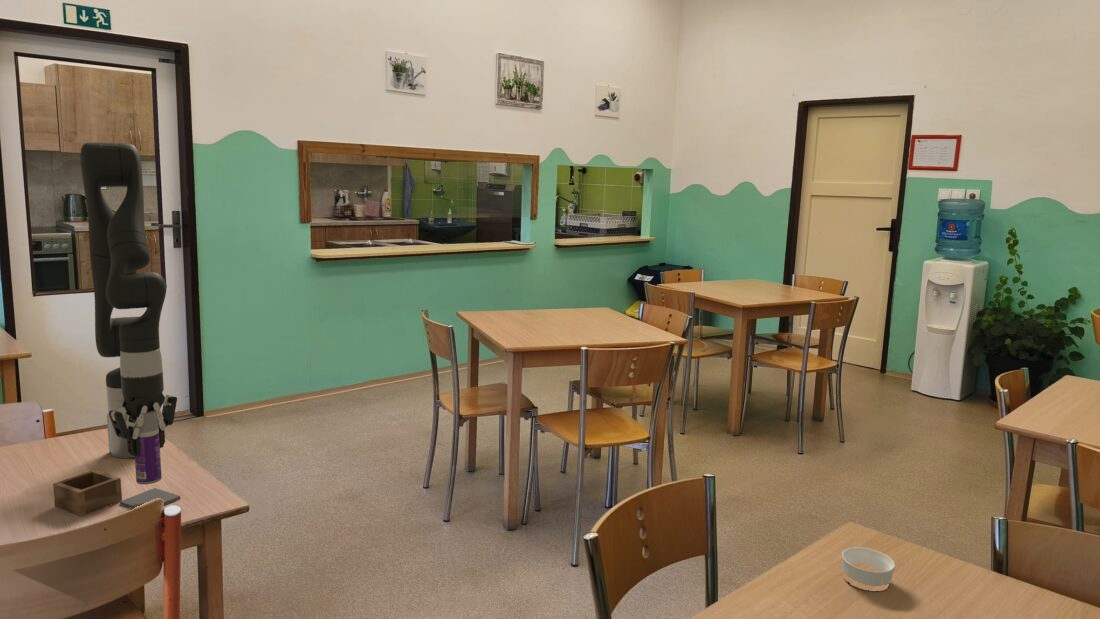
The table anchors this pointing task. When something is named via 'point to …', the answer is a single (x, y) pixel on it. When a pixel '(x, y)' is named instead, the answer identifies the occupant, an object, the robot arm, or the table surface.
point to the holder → (87, 492)
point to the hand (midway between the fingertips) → (147, 450)
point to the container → (148, 451)
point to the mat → (149, 498)
